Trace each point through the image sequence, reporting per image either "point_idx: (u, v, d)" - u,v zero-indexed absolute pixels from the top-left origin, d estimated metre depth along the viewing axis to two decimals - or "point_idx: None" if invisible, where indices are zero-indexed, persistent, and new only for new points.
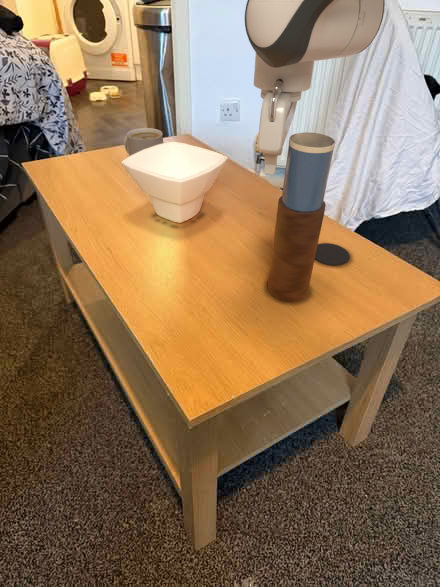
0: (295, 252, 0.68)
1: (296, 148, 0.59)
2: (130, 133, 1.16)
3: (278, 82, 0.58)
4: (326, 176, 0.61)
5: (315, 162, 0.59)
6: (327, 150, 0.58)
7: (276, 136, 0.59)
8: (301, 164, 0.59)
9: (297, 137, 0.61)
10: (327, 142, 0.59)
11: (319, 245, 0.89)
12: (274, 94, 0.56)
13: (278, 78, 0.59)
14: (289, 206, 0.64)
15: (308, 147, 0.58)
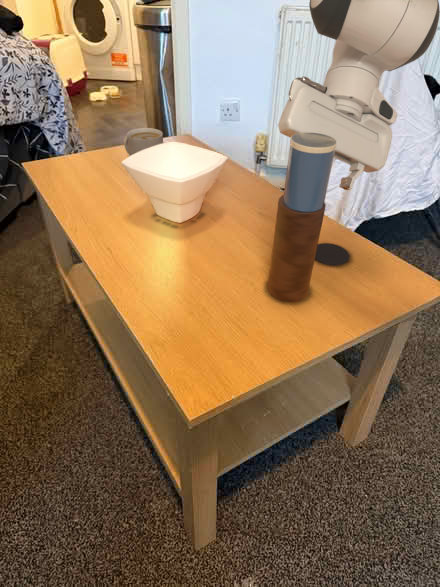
0: (295, 252, 0.68)
1: (297, 148, 0.59)
2: (130, 133, 1.16)
3: (316, 83, 0.66)
4: (327, 176, 0.61)
5: (316, 162, 0.59)
6: (328, 150, 0.58)
7: (288, 110, 0.64)
8: (301, 164, 0.59)
9: (298, 137, 0.61)
10: (328, 143, 0.59)
11: (319, 245, 0.89)
12: (296, 78, 0.65)
13: (325, 87, 0.67)
14: (290, 206, 0.64)
15: (309, 147, 0.58)
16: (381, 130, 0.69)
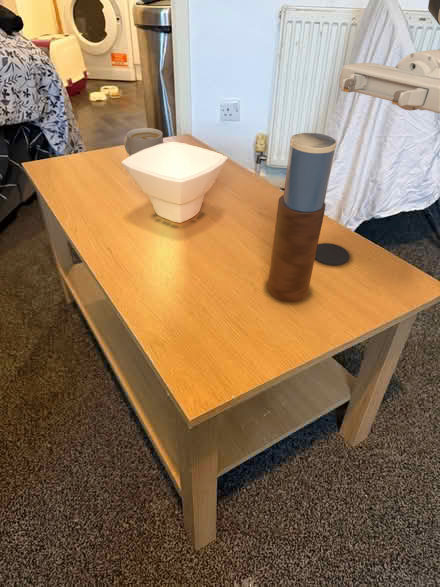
0: (295, 252, 0.68)
1: (297, 148, 0.59)
2: (130, 133, 1.16)
3: None
4: (327, 176, 0.61)
5: (316, 162, 0.59)
6: (328, 150, 0.58)
7: None
8: (301, 164, 0.59)
9: (298, 137, 0.61)
10: (328, 143, 0.59)
11: (319, 245, 0.89)
12: None
13: None
14: (290, 206, 0.64)
15: (309, 147, 0.58)
16: None
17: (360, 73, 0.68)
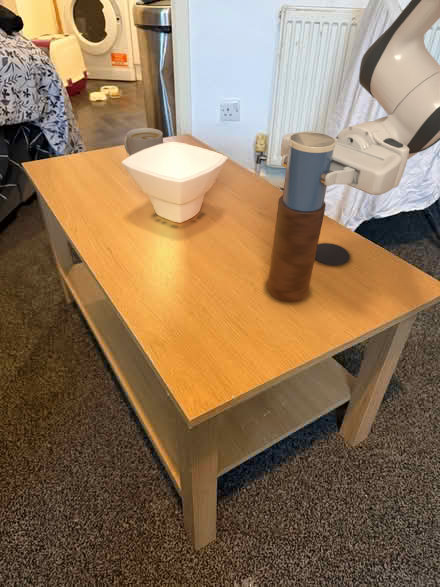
0: (295, 252, 0.68)
1: (296, 147, 0.59)
2: (130, 133, 1.16)
3: None
4: None
5: (315, 162, 0.59)
6: (327, 150, 0.58)
7: None
8: (300, 164, 0.60)
9: (297, 137, 0.61)
10: (327, 142, 0.59)
11: (319, 245, 0.89)
12: None
13: None
14: (289, 205, 0.64)
15: (307, 146, 0.58)
16: (387, 156, 0.62)
17: None
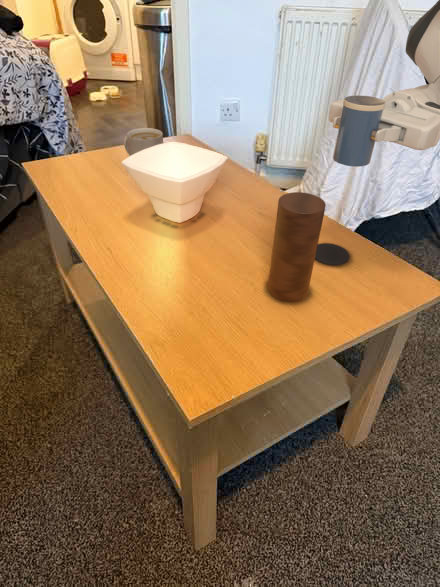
0: (295, 252, 0.68)
1: (351, 107, 0.67)
2: (130, 133, 1.16)
3: None
4: None
5: (367, 120, 0.67)
6: (378, 108, 0.66)
7: None
8: (354, 122, 0.67)
9: (350, 98, 0.69)
10: (378, 102, 0.67)
11: (319, 245, 0.89)
12: None
13: None
14: (340, 162, 0.72)
15: (362, 105, 0.66)
16: (429, 116, 0.70)
17: None
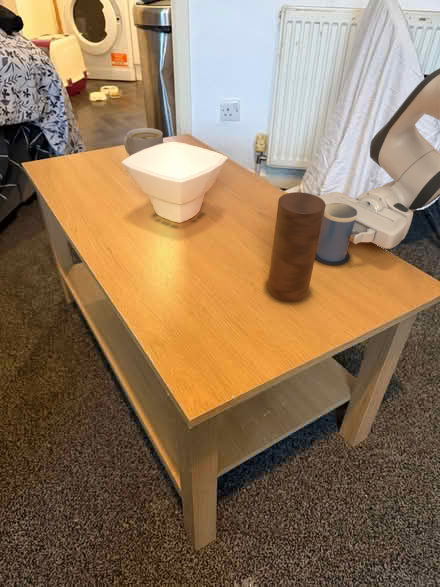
0: (295, 252, 0.68)
1: (328, 217, 0.80)
2: (130, 133, 1.16)
3: None
4: None
5: (342, 228, 0.80)
6: (351, 220, 0.79)
7: None
8: (331, 229, 0.80)
9: (328, 208, 0.81)
10: (351, 213, 0.80)
11: None
12: None
13: None
14: (321, 257, 0.85)
15: (337, 218, 0.78)
16: (396, 218, 0.83)
17: None
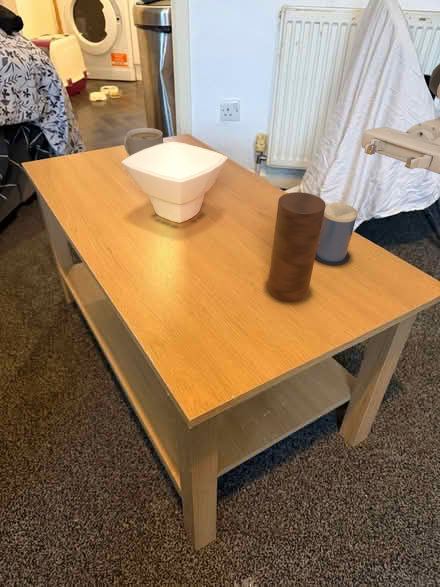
0: (295, 252, 0.68)
1: (328, 217, 0.80)
2: (130, 133, 1.16)
3: None
4: (350, 236, 0.82)
5: (342, 228, 0.80)
6: (351, 220, 0.79)
7: None
8: (331, 229, 0.80)
9: (328, 208, 0.81)
10: (351, 213, 0.80)
11: None
12: None
13: None
14: (321, 257, 0.85)
15: (337, 218, 0.78)
16: None
17: (379, 138, 0.87)
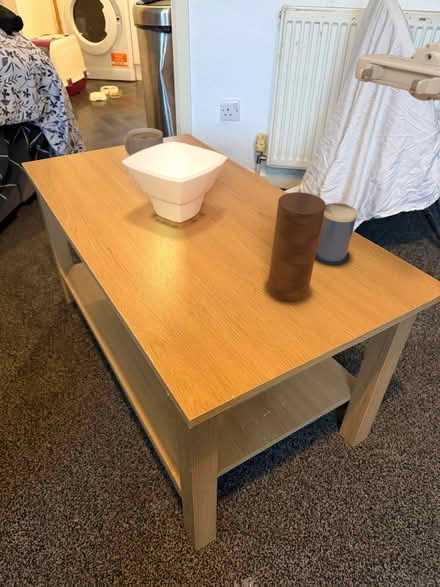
0: (295, 252, 0.68)
1: (328, 217, 0.80)
2: (130, 133, 1.16)
3: None
4: (350, 236, 0.82)
5: (342, 228, 0.80)
6: (351, 220, 0.79)
7: None
8: (331, 229, 0.80)
9: (328, 208, 0.81)
10: (351, 213, 0.80)
11: None
12: None
13: None
14: (321, 257, 0.85)
15: (337, 218, 0.78)
16: None
17: (376, 63, 0.69)
